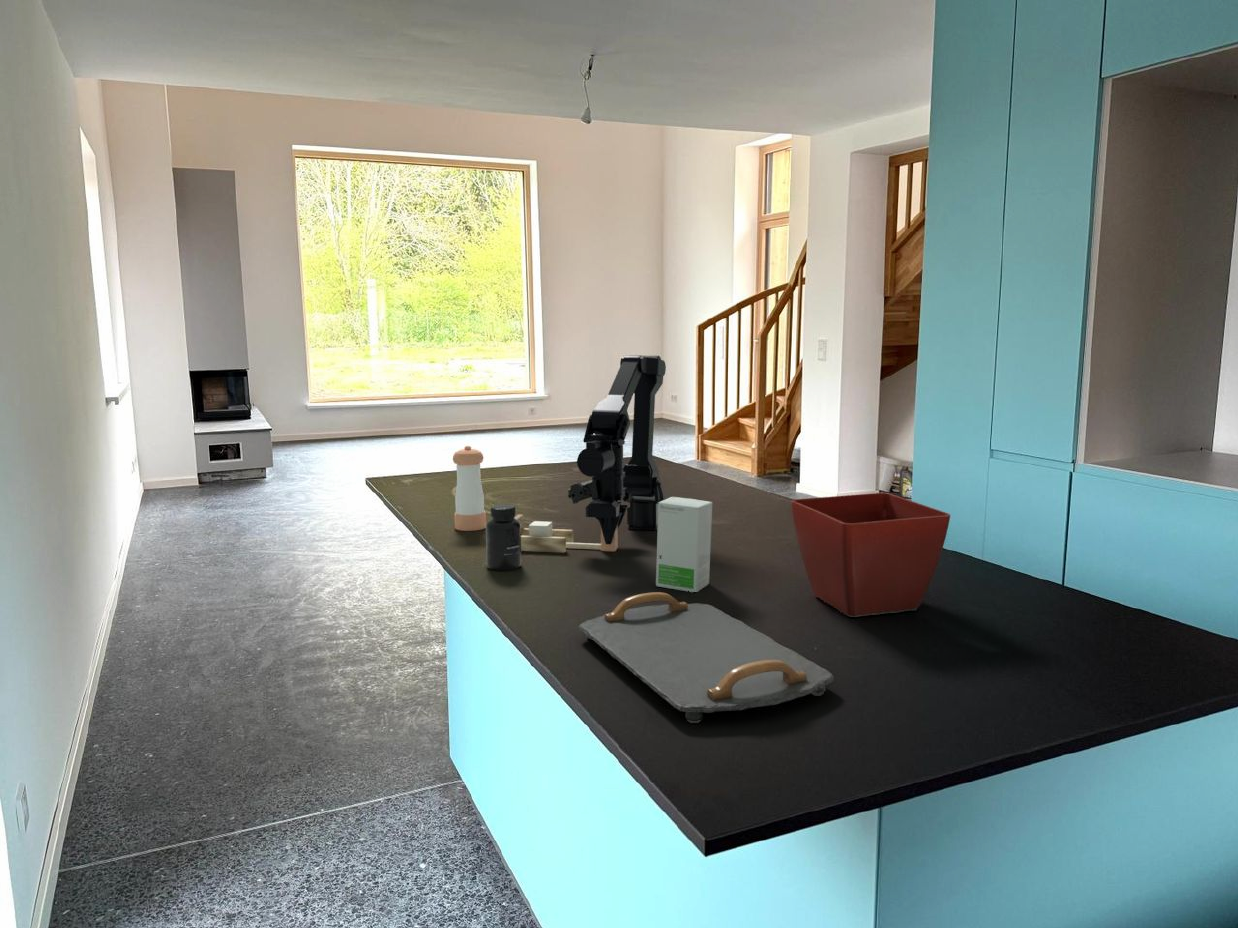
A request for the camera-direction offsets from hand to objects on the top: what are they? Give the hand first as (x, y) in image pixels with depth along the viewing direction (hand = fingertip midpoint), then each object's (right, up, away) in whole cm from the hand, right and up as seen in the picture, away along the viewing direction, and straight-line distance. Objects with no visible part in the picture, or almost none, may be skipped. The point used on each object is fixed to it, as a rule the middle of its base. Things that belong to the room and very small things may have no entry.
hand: (609, 542), depth 185 cm
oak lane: (-14, -1, +3) cm, 14 cm away
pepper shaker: (-33, +1, +21) cm, 39 cm away
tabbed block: (-8, -1, +2) cm, 8 cm away
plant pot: (+43, -7, -37) cm, 57 cm away
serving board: (+13, -12, -62) cm, 64 cm away
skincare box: (+14, -6, -25) cm, 29 cm away
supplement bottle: (-21, -4, -12) cm, 24 cm away
